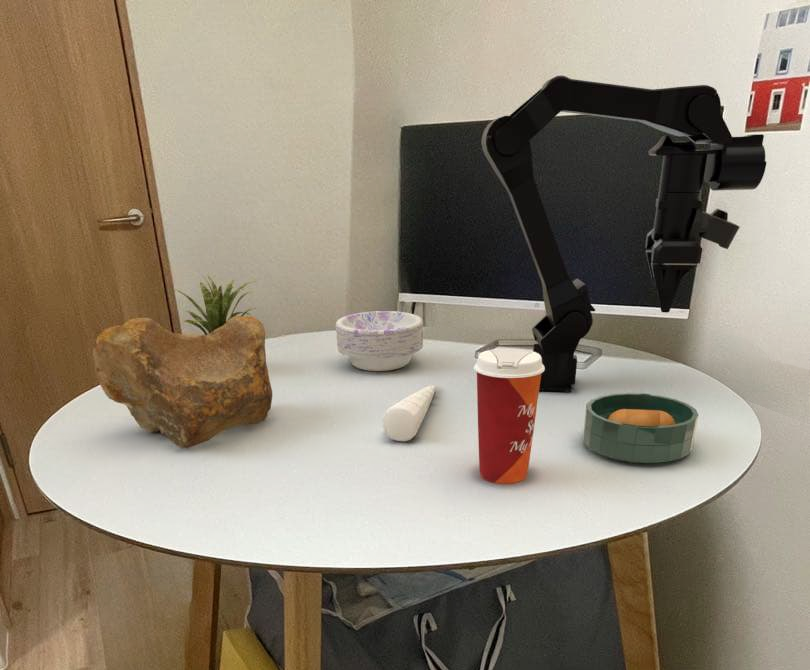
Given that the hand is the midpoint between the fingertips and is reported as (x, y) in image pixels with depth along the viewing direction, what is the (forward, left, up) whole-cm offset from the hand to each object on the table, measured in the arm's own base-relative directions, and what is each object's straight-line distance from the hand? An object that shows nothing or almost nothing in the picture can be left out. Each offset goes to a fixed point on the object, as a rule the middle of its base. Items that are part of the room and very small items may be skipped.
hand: (662, 306), depth 107 cm
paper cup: (-21, -39, -12) cm, 46 cm away
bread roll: (-5, -28, -11) cm, 31 cm away
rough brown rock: (-63, -31, -12) cm, 71 cm away
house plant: (-71, -2, -12) cm, 72 cm away
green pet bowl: (-5, -28, -12) cm, 31 cm away
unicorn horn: (-35, -20, -12) cm, 42 cm away
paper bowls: (-46, +6, -12) cm, 48 cm away
